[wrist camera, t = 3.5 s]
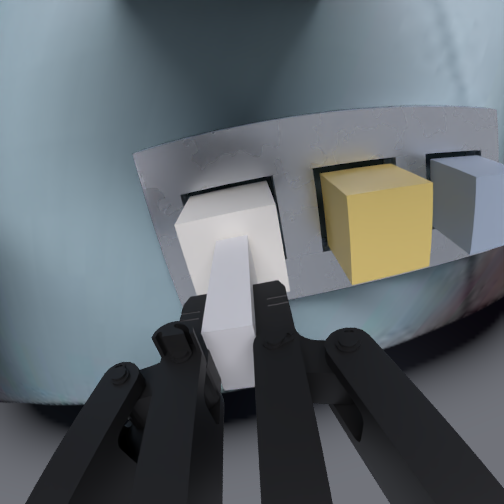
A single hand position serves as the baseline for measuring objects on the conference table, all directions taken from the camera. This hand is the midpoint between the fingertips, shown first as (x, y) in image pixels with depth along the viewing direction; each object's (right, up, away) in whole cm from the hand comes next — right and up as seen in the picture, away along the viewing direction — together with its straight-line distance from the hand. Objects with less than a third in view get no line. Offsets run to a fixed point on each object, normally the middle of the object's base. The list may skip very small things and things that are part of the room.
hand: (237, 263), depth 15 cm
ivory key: (0, +2, +5) cm, 5 cm away
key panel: (+7, +4, +5) cm, 10 cm away
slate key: (+15, +5, +3) cm, 16 cm away
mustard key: (+8, +4, +4) cm, 9 cm away
